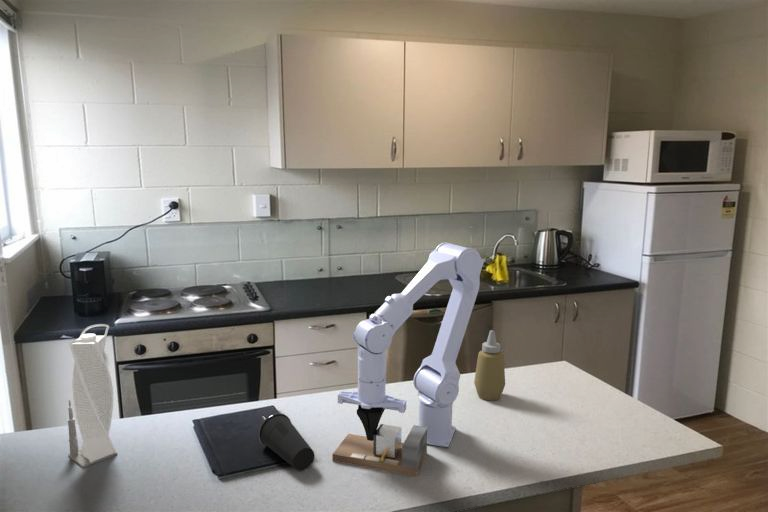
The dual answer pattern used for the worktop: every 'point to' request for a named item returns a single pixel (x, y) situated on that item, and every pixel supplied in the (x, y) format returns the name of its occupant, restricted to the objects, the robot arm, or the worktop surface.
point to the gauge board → (405, 461)
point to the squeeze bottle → (490, 370)
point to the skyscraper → (91, 400)
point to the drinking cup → (286, 441)
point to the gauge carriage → (387, 441)
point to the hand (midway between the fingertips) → (371, 438)
